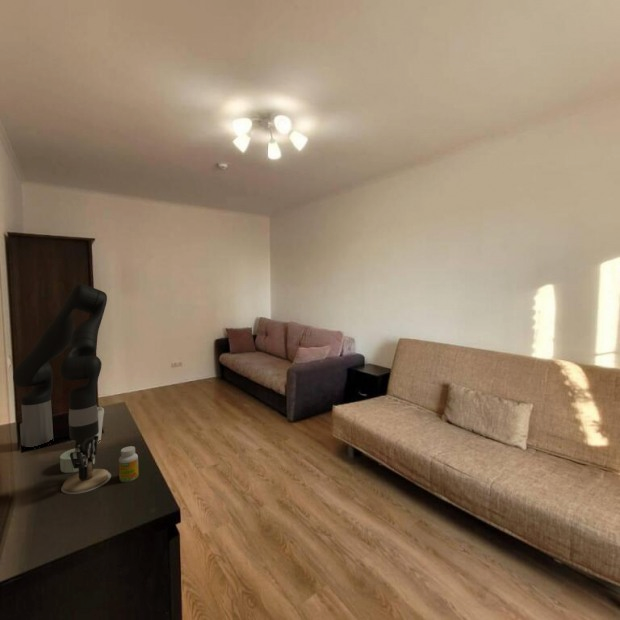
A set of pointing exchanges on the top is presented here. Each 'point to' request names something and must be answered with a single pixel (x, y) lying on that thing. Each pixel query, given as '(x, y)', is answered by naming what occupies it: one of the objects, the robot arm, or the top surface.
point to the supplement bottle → (128, 464)
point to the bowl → (68, 462)
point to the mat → (88, 489)
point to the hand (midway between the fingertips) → (86, 475)
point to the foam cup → (100, 421)
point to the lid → (86, 480)
